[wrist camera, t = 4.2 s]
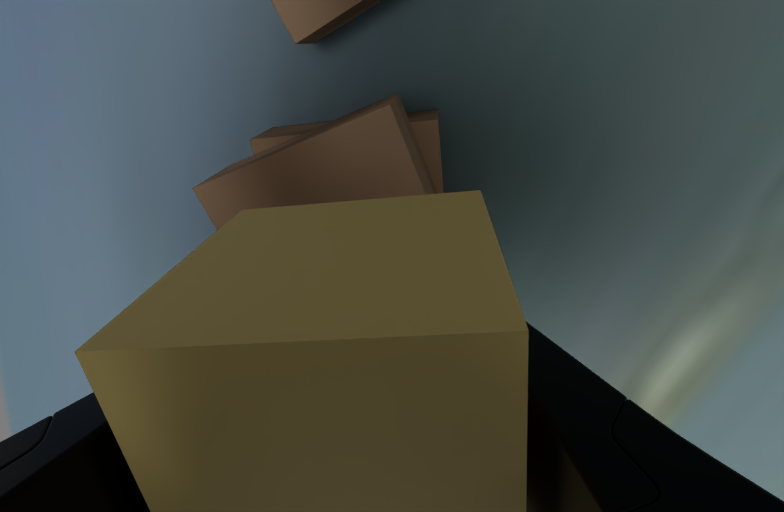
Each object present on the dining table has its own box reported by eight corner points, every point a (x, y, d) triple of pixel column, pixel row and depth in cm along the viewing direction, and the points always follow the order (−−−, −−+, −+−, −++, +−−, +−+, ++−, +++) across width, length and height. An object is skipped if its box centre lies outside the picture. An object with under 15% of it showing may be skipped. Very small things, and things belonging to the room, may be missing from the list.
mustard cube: (480, 189, 9) (528, 329, 5) (487, 388, 11) (524, 622, 7) (241, 209, 10) (75, 351, 5) (289, 395, 12) (198, 613, 7)
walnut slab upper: (398, 93, 16) (389, 104, 13) (463, 262, 18) (468, 301, 16) (230, 165, 18) (192, 188, 15) (311, 311, 20) (292, 353, 17)
